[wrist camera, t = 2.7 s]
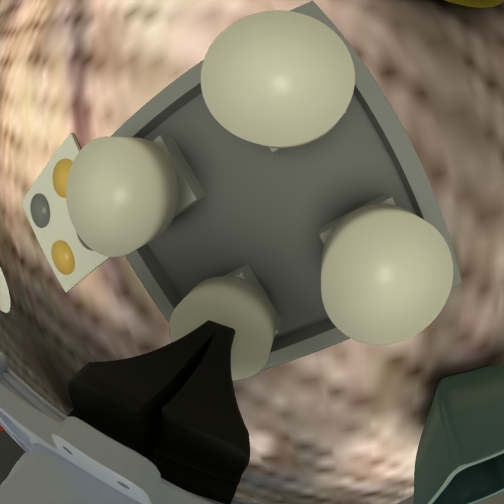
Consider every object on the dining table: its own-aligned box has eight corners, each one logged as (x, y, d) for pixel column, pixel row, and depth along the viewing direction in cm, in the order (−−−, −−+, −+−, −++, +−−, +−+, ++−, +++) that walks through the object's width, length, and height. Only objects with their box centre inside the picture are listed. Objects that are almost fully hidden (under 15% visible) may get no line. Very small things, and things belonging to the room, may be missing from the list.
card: (68, 291, 20) (64, 293, 20) (24, 202, 19) (20, 203, 18) (129, 242, 17) (124, 244, 17) (73, 132, 16) (68, 132, 15)
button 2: (266, 171, 12) (249, 174, 9) (210, 82, 11) (176, 60, 8) (366, 117, 10) (384, 102, 7) (303, 29, 10) (298, -10, 6)
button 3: (224, 351, 17) (206, 388, 14) (180, 287, 17) (151, 315, 13) (295, 325, 16) (289, 364, 13) (251, 250, 15) (232, 276, 12)
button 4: (140, 251, 15) (100, 275, 12) (98, 175, 14) (53, 183, 11) (211, 204, 13) (177, 219, 10) (161, 118, 12) (117, 111, 9)
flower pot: (419, 360, 16) (454, 471, 7) (515, 336, 13) (569, 414, 5) (400, 435, 18) (410, 523, 10) (484, 413, 16) (510, 486, 7)
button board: (221, 368, 19) (213, 385, 17) (95, 167, 16) (77, 169, 14) (450, 271, 13) (463, 284, 12) (313, 14, 11) (312, -1, 9)
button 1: (346, 318, 13) (352, 362, 10) (300, 230, 13) (295, 255, 9) (435, 274, 12) (464, 308, 9) (398, 179, 11) (427, 187, 8)
